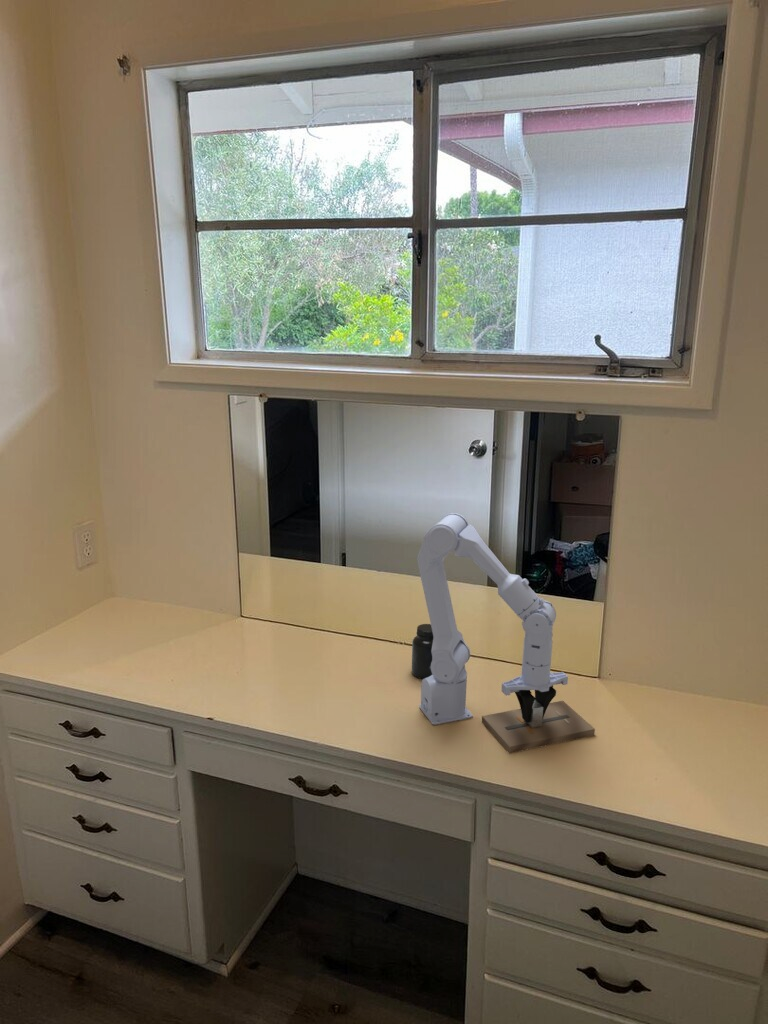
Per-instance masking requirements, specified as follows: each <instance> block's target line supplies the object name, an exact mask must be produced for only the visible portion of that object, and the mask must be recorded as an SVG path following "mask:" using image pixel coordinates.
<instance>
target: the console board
mask: <svg viewBox="0 0 768 1024" xmlns="http://www.w3.org/2000/svg"><path fill="white" fill-rule="evenodd" d="M481 723H482V725H484V727H486V729H487V730H488V732H490V734H491V735H492V736H493V737H494V738H495V739H496V740H497V741H498V742H499V744H500V745H501V746H502V747H503V748H504V749H505V750H506V751H507V753H508V754H513V753H517V752H518V753H519V752H522V750H523V751H526V750H527V749H528V750H530V749H537V748H540V747H541V746H542V747H545V745H546V746H550V745H555V744H560V743H565V742H568V741H574V740H579V739H583V738H588V737H593V736H595V731H596V729H595V727H593V726H592V725H591V724H590V723H589V722H588V721H586V719H584V718H583V717H582V716H581V715H580V714H579V713H578V712H576V710H574V709H573V708H572V707H571V706H570V705H568V703H566V702H565V701H564V700H559V701H553V702H550V703H549V705H548V707H547V709H546V712H545V714H544V717H543V720H542V726H538V727H533V728H531V726H530V725H529V724H528V723H527V722H526V721H525V720H524V719H523V718H522V712H521V708H518V709H512V710H507V711H501V712H496V713H492V714H491V713H490V714H486V715H482V716H481Z"/></svg>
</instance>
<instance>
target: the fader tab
mask: <svg viewBox="0 0 768 1024" xmlns="http://www.w3.org/2000/svg"><path fill="white" fill-rule="evenodd" d="M542 717H543V706H542V705H541V704H540V703H539V702H538V701H536V700H534V703H533V706H532V712H531V721H530V722H529V723H528V724H529V725H530V726H531V728H533V727H538V726H542Z"/></svg>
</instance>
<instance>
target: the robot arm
mask: <svg viewBox="0 0 768 1024" xmlns="http://www.w3.org/2000/svg"><path fill="white" fill-rule="evenodd" d="M453 551H455V552H454V555H453V556H454V557H457V558H468V559H470V560H472V562H474V563H475V564H476V565H477V566H478V567H479V569H480V570H481V571H483V572H484V573H485V574H486V576H488V577H489V578H490V579H491V580H492V581H493V582H494V583H495V584H496V585H497V595H498V596H499V597H500V598H501V599H502V600H503V601H504V602H505V603H506V604H507V606H508V607H509V608H510V609H511V610H512V612H513V613H514V614H516V616H517V617H518V618H519V619H521V620H522V622H521V626H522V629H523V631H524V637H523V648H522V662H521V663H522V664H521V675H518V676H516V677H514V678H512V679H510V680H508V681H504V682H502V683H501V692H502V693H503V694H504V696H511V694H513V693H515V695H516V698H517V701H518V703H519V707H520V709H521V712H522V718H523V719H524V720H525V721H526V722H527V723H529V722H530V721H531V712H532V706H533V703H534V700H536V701H538V702H539V703H540V704H541V705H542V706H543V717H544V714H545V712H546V709H547V707H548V705H549V703H552V700H553V699H554V698H555V697H556V694H557V690H556V689H555V688H554V686H555V685H562V686H566V685H568V681H569V676H568V675H567V674H566V673H565V672H564V671H561V672H560V671H559V672H551V669H552V668H551V667H552V666H551V664H552V653H553V635H554V634H553V628H554V627H553V626H554V625H555V622H556V617H557V612H556V609H555V607H554V606H553V604H552V602H550V601H549V600H545V599H544V598H543V597H539V596H538V595H537V593H536V592H535V591H534V590H533V589H532V588H531V586H529V584H530V582H529V580H528V579H527V578H522V577H521V575H519V574H513V573H510V572H509V571H508V570H507V568H506V567H505V566H504V565H503V563H502V562H501V561H500V560H499V559H498V557H497V556H496V554H495V553H494V552H493V551H492V550H491V548H489V546H488V545H487V544H486V543H485V541H484V540H483V539H482V537H481V536H480V534H479V533H478V531H477V530H476V528H475V527H474V525H472V524H470V523H469V522H468V521H467V519H466V517H464V516H463V515H462V514H459V513H457V512H451V513H450V512H449V513H447V514H445V515H444V516H443V517H442V518H441V519H440V520H439V521H438V522H437V523H436V524H434V525H433V526H432V527H430V529H428V530H427V532H426V533H425V534H424V535H423V539H422V543H421V546H420V547H419V550H418V553H417V556H416V562H417V566H418V571H419V576H420V579H421V580H420V581H421V585H422V590H423V594H424V599H425V602H426V608H427V612H428V617H429V622H430V624H431V627H432V632H433V636H434V638H433V644H432V650H431V653H432V662H431V672H432V675H431V676H430V677H427V678H424V679H421V684H420V686H421V687H420V704H419V708H420V710H421V712H423V714H424V715H425V717H426V718H427V719H428V720H429V722H430V724H432V725H434V726H435V725H441V724H446V723H450V722H457V721H461V720H467V719H471V718H473V716H474V715H473V714H472V713H471V711H470V710H469V709H468V708H467V707H466V701H467V681H468V680H467V678H468V673H467V670H466V664H467V663H468V662H469V660H470V659H471V650H470V648H469V646H468V645H467V643H466V641H465V639H464V636H463V633H462V632H461V631H460V630H458V628H457V627H458V626H457V622H456V618H455V613H454V607H453V604H452V598H451V594H450V588H449V583H448V580H447V574H446V569H445V565H444V560H445V558H446V557H447V556H448V555H449V554H451V553H452V552H453ZM532 691H534V695H533V694H532ZM543 717H542V720H543Z"/></svg>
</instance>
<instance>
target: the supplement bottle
mask: <svg viewBox="0 0 768 1024" xmlns="http://www.w3.org/2000/svg"><path fill="white" fill-rule="evenodd" d="M433 638H434V636H433V632H432V627H431V623H422V624H420V625H419V624H418V625H417V627H416V635H415V636H414V637H413V639H412V642H411V643H412V644H411V645H412V646H411V673H412V675H413V676H414V677H416V678H417V679H420V680H423V679H424V678H427V677H430V676H431V675H432V672H431V662H432V653H431V650H432V644H433Z"/></svg>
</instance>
